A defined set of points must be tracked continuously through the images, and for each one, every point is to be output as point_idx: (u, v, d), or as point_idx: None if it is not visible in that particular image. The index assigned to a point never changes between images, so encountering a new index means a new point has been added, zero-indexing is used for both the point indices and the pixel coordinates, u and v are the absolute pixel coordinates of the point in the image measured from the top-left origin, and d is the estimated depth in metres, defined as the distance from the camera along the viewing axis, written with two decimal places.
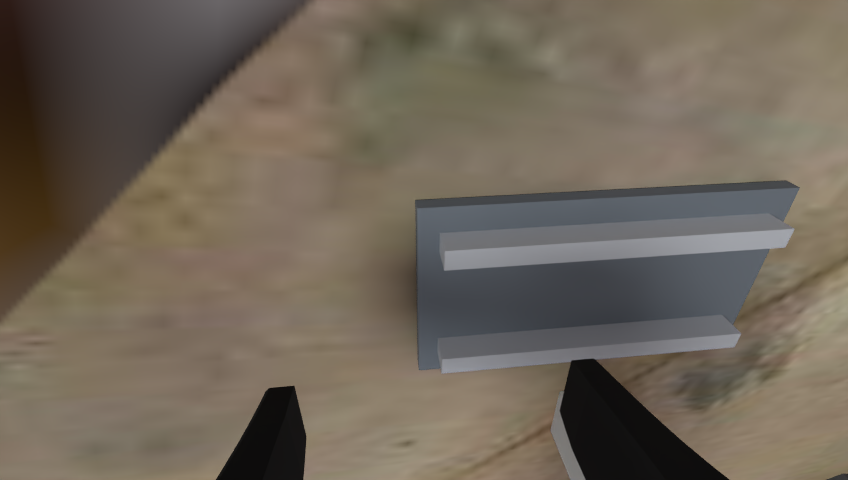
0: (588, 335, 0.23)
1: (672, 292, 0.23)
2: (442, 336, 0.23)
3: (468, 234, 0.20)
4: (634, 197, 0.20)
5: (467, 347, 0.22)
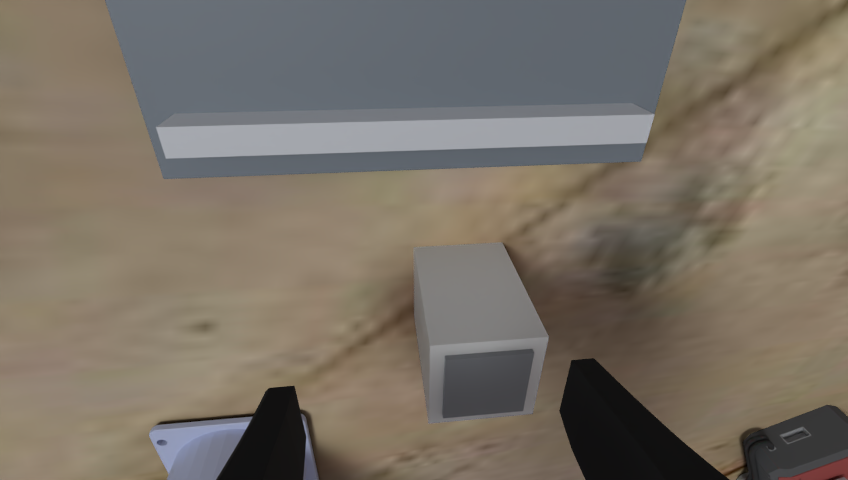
0: (414, 113, 0.15)
1: (546, 47, 0.15)
2: (180, 109, 0.14)
3: None
4: None
5: (210, 119, 0.14)
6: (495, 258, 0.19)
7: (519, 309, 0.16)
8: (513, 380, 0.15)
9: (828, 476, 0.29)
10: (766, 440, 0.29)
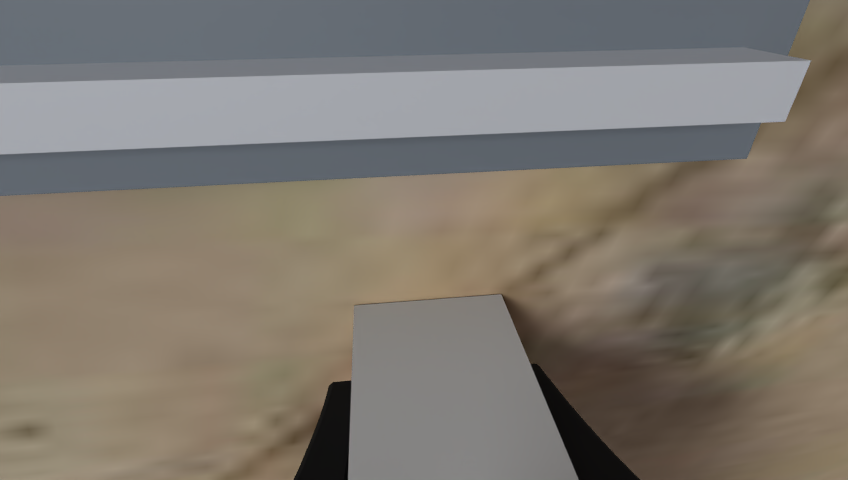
0: (311, 65, 0.07)
1: None
2: None
3: None
4: None
5: None
6: (489, 327, 0.11)
7: (534, 449, 0.08)
8: None
9: None
10: None
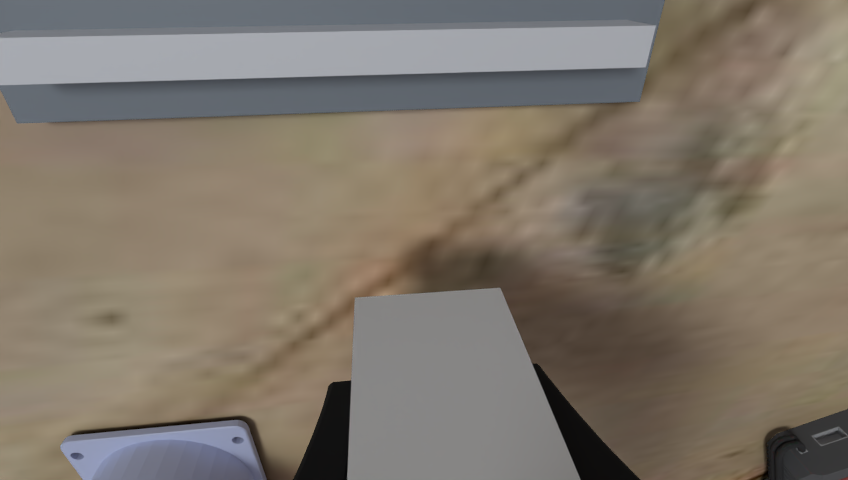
0: (334, 28, 0.11)
1: None
2: (21, 25, 0.11)
3: None
4: None
5: (54, 33, 0.10)
6: (488, 319, 0.11)
7: (532, 436, 0.08)
8: None
9: None
10: (797, 441, 0.25)
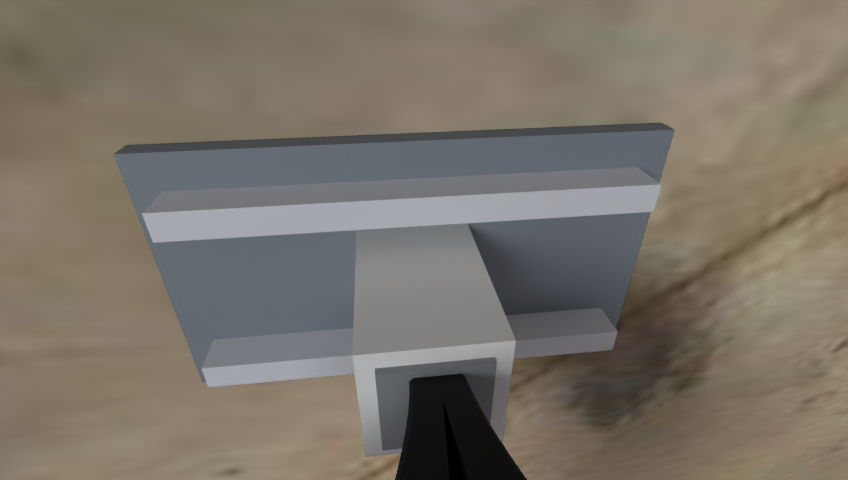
0: None
1: (525, 277, 0.17)
2: (218, 337, 0.17)
3: (199, 192, 0.14)
4: (437, 141, 0.14)
5: (244, 352, 0.17)
6: (456, 242, 0.15)
7: (480, 304, 0.12)
8: None
9: None
10: None
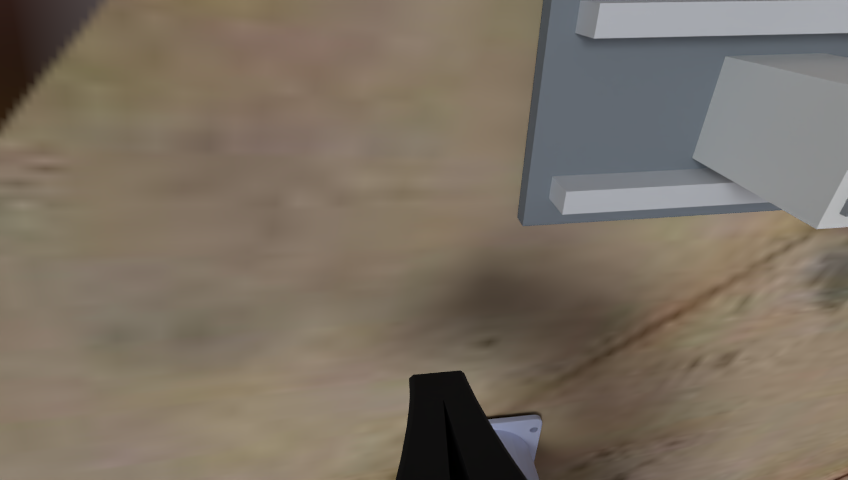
0: None
1: None
2: (558, 173, 0.18)
3: (618, 0, 0.15)
4: None
5: (593, 183, 0.18)
6: (838, 59, 0.16)
7: None
8: None
9: None
10: None
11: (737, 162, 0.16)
